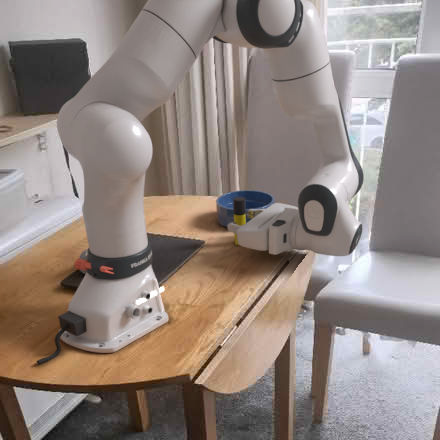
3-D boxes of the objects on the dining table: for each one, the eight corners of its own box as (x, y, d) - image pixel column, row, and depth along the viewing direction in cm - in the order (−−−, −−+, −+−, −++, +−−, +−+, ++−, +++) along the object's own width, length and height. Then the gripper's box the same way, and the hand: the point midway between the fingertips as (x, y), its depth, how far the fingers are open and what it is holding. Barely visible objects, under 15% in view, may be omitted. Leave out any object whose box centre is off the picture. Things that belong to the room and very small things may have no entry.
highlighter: (242, 246, 143) (241, 201, 136) (232, 244, 144) (230, 199, 138) (248, 241, 145) (247, 197, 138) (238, 240, 146) (236, 196, 140)
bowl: (258, 234, 148) (257, 213, 145) (206, 225, 155) (205, 205, 151) (283, 214, 159) (284, 194, 155) (234, 207, 165) (234, 187, 162)
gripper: (309, 200, 140) (258, 193, 146) (272, 230, 127) (216, 221, 132) (308, 226, 144) (258, 217, 150) (271, 258, 130) (218, 247, 136)
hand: (238, 219), depth 141 cm, fingers open, 8 cm apart
